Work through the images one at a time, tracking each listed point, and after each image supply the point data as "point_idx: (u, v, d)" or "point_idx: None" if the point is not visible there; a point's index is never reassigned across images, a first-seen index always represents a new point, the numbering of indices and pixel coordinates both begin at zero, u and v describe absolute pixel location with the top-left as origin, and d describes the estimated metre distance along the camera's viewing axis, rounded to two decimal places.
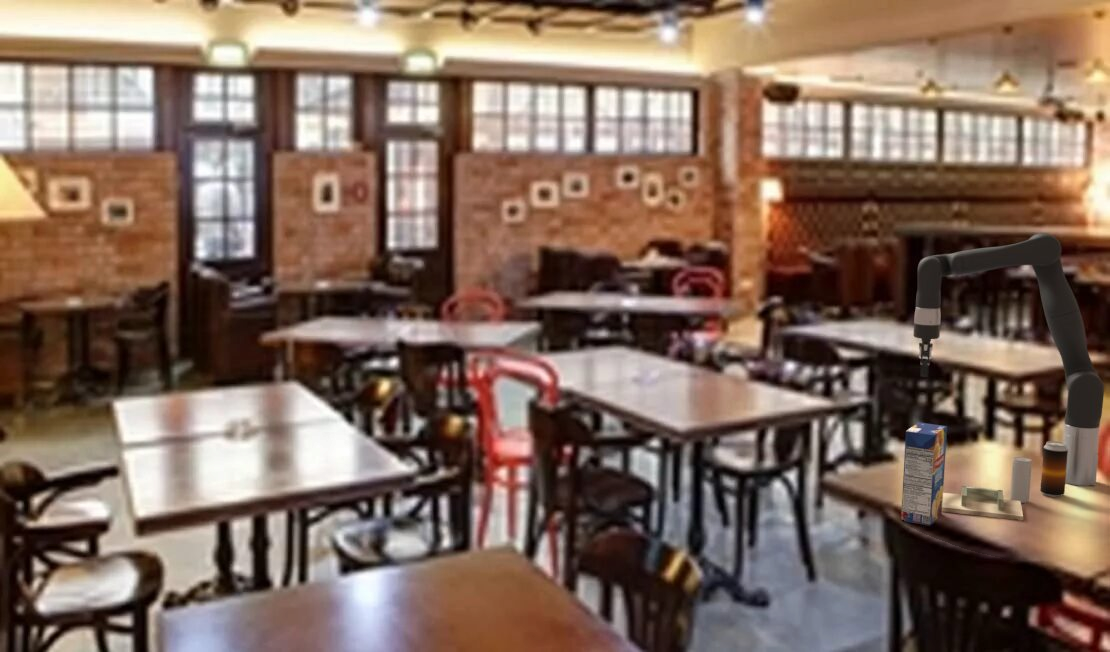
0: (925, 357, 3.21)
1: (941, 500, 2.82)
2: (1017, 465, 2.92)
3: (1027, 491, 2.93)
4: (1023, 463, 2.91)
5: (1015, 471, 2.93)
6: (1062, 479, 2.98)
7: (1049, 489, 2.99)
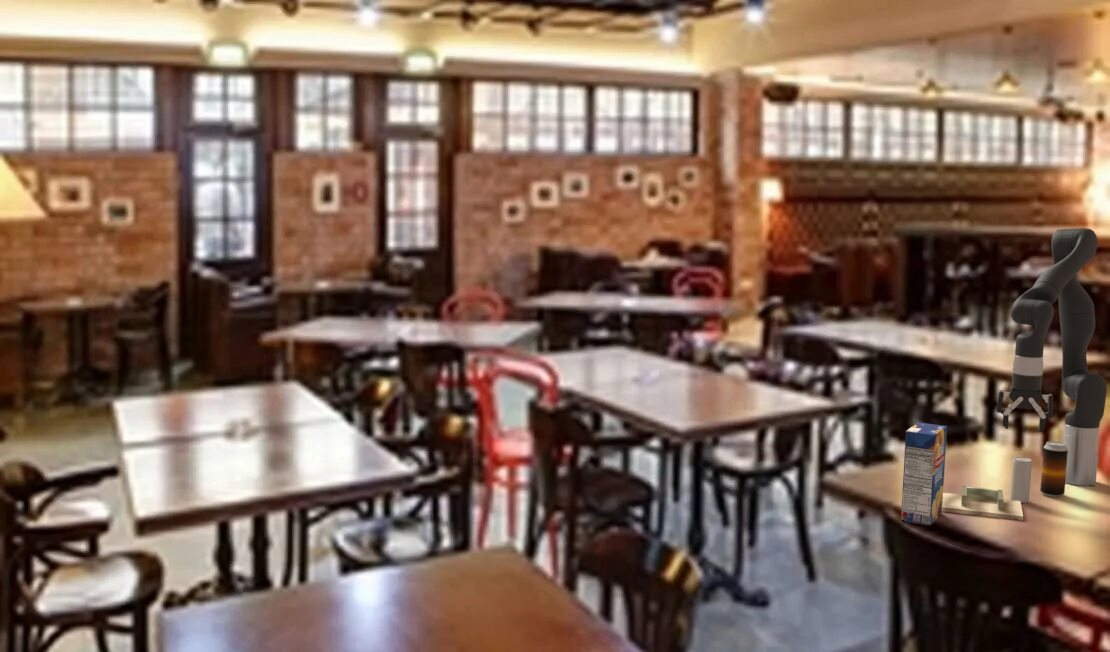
0: None
1: (941, 500, 2.82)
2: (1017, 465, 2.92)
3: (1027, 491, 2.93)
4: (1023, 463, 2.91)
5: (1015, 471, 2.93)
6: (1062, 479, 2.98)
7: (1049, 489, 2.99)
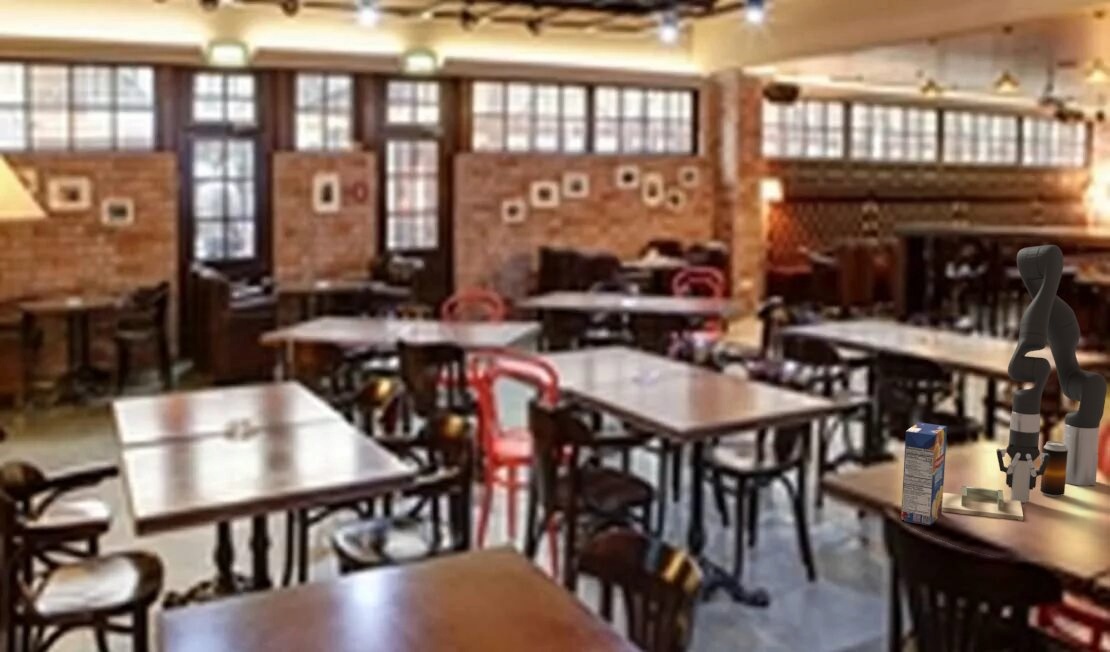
0: None
1: (941, 500, 2.82)
2: (1017, 465, 2.92)
3: (1027, 491, 2.93)
4: (1023, 463, 2.91)
5: (1015, 470, 2.93)
6: (1062, 479, 2.98)
7: (1049, 489, 2.99)
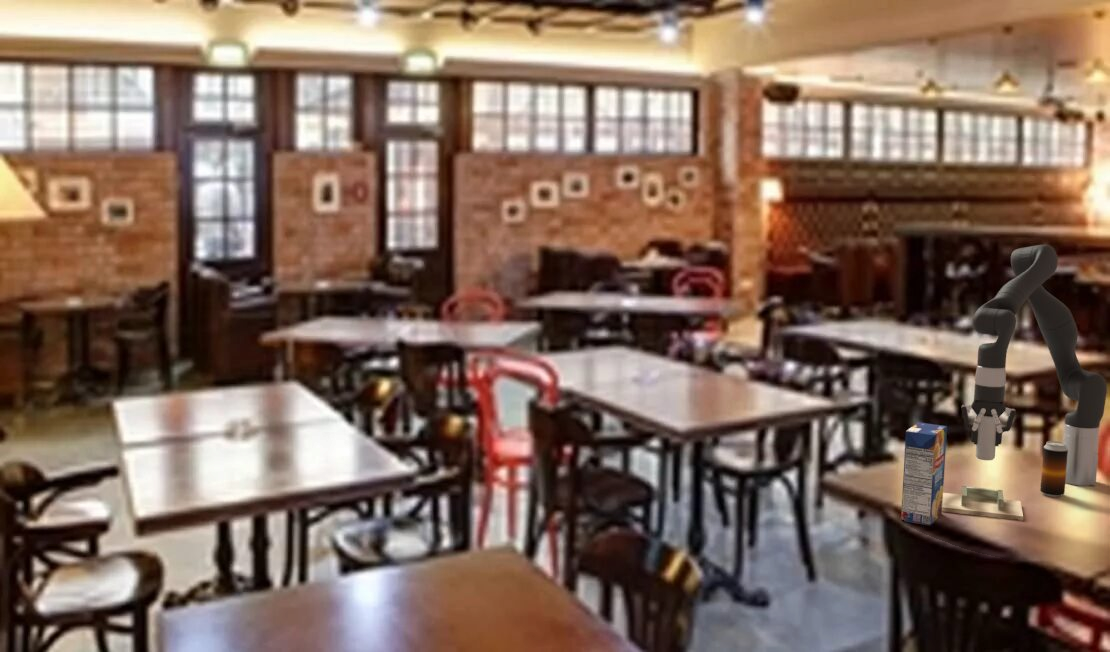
0: None
1: (941, 500, 2.82)
2: (982, 421, 2.84)
3: (993, 448, 2.84)
4: (988, 419, 2.83)
5: (981, 427, 2.84)
6: (1062, 479, 2.98)
7: (1049, 489, 2.99)
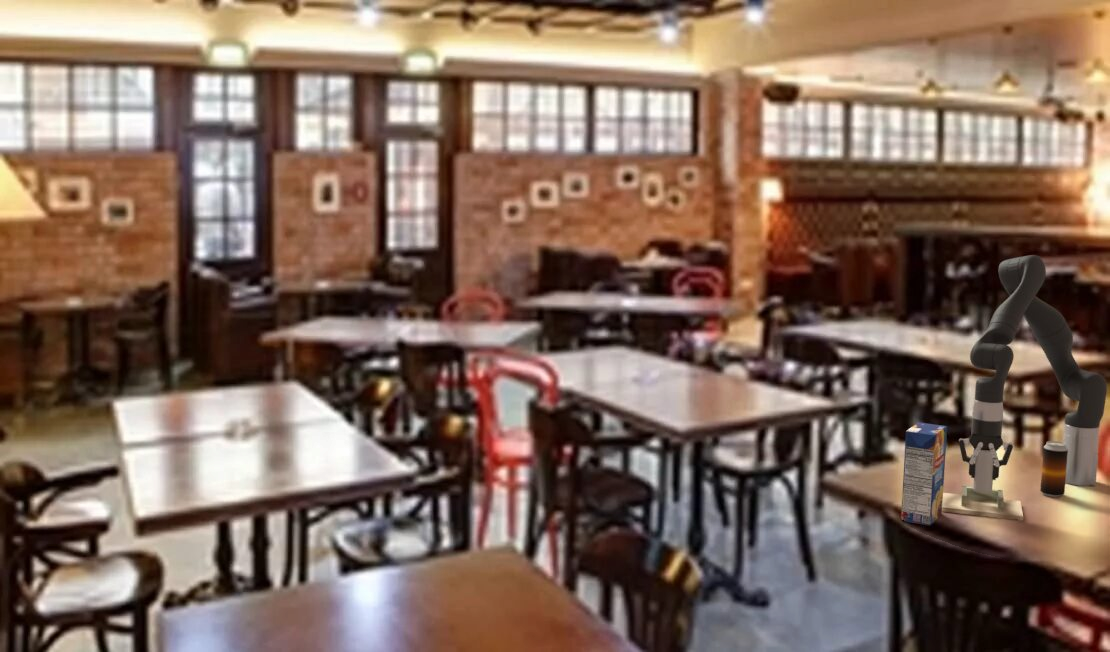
0: None
1: (941, 500, 2.82)
2: (979, 454, 2.85)
3: (990, 481, 2.86)
4: (986, 453, 2.84)
5: (978, 460, 2.86)
6: (1062, 479, 2.98)
7: (1049, 489, 2.99)
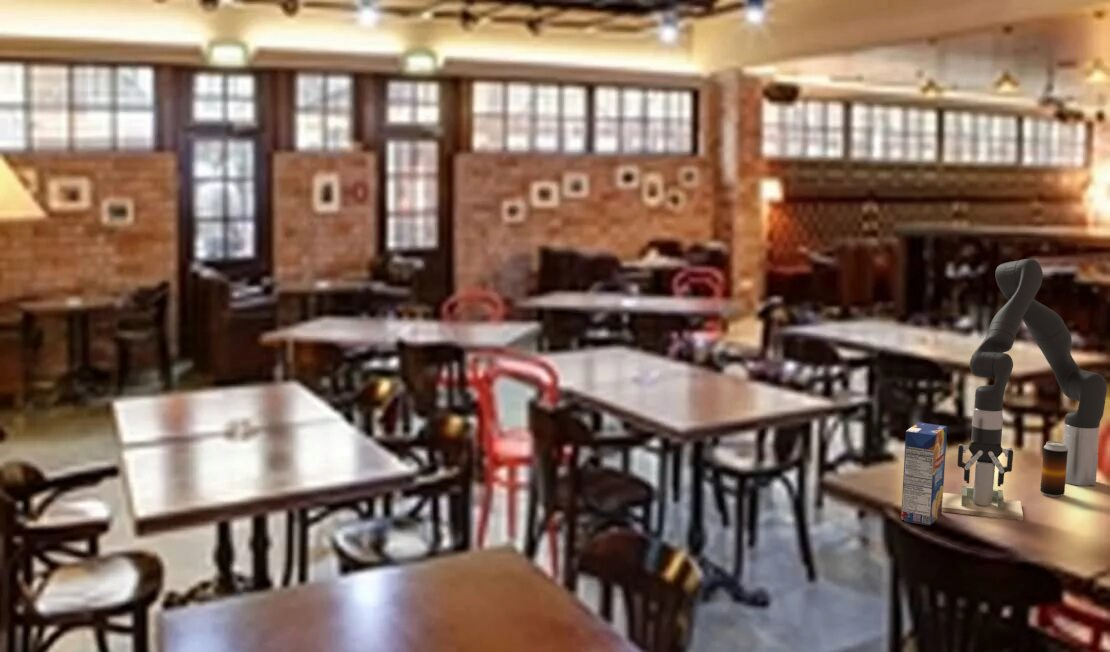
0: None
1: (941, 500, 2.82)
2: (979, 467, 2.85)
3: (990, 494, 2.86)
4: (986, 465, 2.84)
5: (978, 473, 2.86)
6: (1062, 479, 2.98)
7: (1049, 489, 2.99)
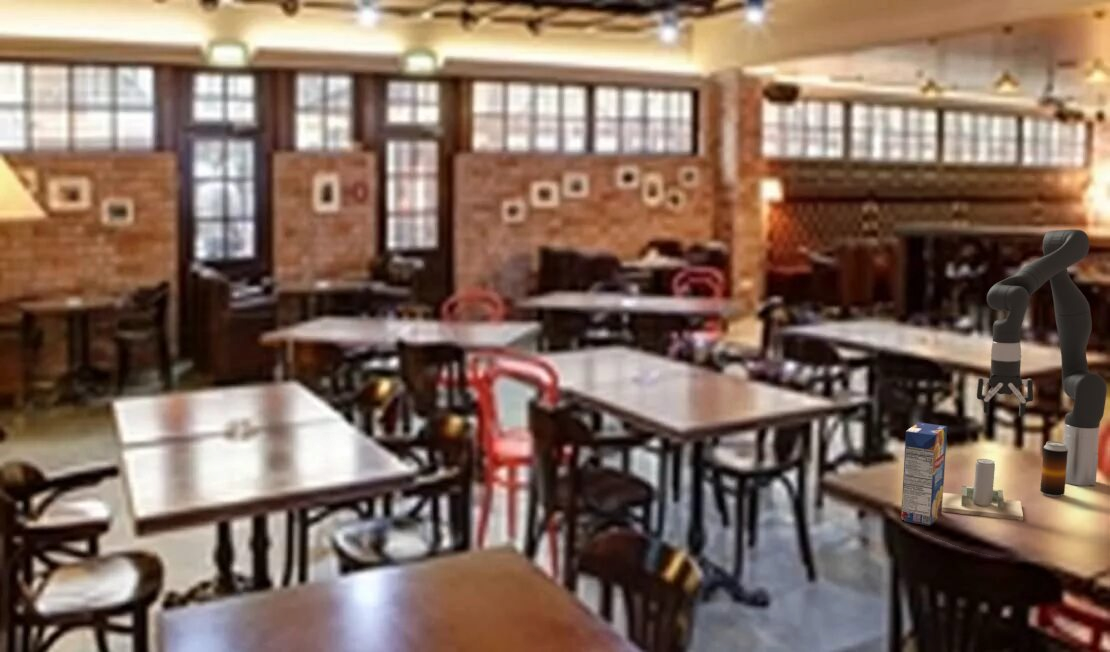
0: None
1: (941, 500, 2.82)
2: (979, 467, 2.86)
3: (990, 494, 2.86)
4: (986, 465, 2.85)
5: (978, 473, 2.86)
6: (1062, 479, 2.98)
7: (1049, 489, 2.99)
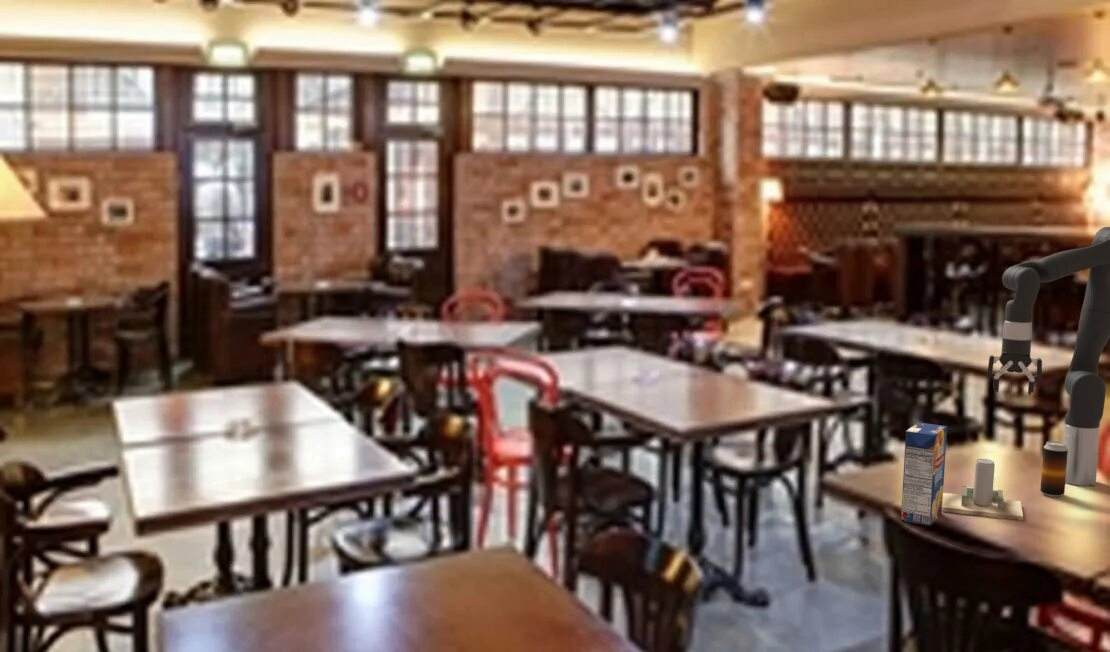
0: None
1: (941, 500, 2.82)
2: (979, 467, 2.86)
3: (990, 494, 2.86)
4: (985, 465, 2.85)
5: (978, 473, 2.86)
6: (1062, 479, 2.98)
7: (1049, 489, 2.99)
